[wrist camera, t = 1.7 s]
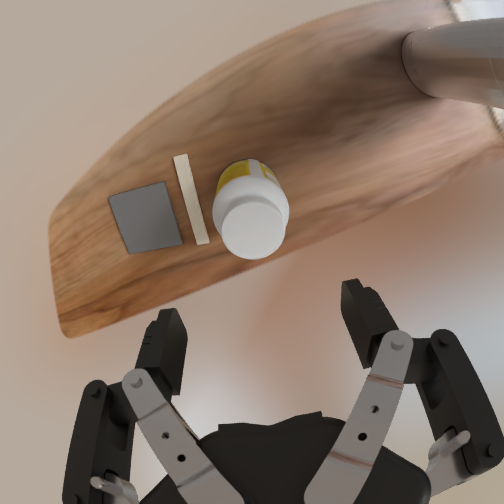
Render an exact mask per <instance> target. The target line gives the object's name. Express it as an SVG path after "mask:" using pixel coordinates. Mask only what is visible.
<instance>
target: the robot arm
mask: <svg viewBox="0 0 504 504" xmlns="http://www.w3.org/2000/svg"><path fill="white" fill-rule="evenodd" d="M402 60H403V64H404V67H405V69H406V72H407V74H408V76H409V77H410V79H411V81H412V82H413V83H414V84H415V86H416V87H417V88H419V89H420V90H421V91H422V92H424V93H425V94H427V95H429V96H432V97H439V98H447V99H454V100H460V101H466V102H472V103H478V104H483V105H488V106H492V107H497V108H501V109H504V18H490V19H479V20H471V21H464V22H457V23H451V24H446V25H441V26H436V27H431V28H427V29H422V30H419V31H415V32H412V33H410V34H409V35H407V37H406V38H405V39H404V42H403V45H402ZM341 312H342V316H343V319H344V321H345V324H346V326H347V328H348V331H349V333H350V335H351V338H352V341H353V343H354V346H355V348H356V351H357V353H358V356H359V359H360V361H361V364H362V366H363V369H365V368H369V367H371V371H370V373H369V375H368V377H367V378H366V381H365V383H364V385H363V388H362V390H361V392H360V394H359V397H358V399H357V401H356V403H355V405H354V407H353V410H352V412H351V414H350V416H349V418H348V420H347V422H345V421H343V420H340V419H336V418H331V417H322V413H321V411H319V412H314V413H309V414H303V415H298V416H294V417H292V418H289V419H287V420H284V421H282V422H279V423H276V424H274V425H269V426H266V425H257V424H249V423H234V424H219V425H218V431H215V432H213V433H210V434H208V435H206V436H205V437H203V438H202V439H199V437H198V436H197V435H196V434H195V433H194V432H193V431H192V430H191V428H190V427H189V426H188V424H187V423H186V422H185V420H184V419H183V418H182V416H181V415H180V414H179V412H178V411H177V409H176V408H175V407H174V405H173V404H172V403H171V397H172V395H180V389H181V382H182V375H183V368H184V360H185V354H186V348H187V340H188V337H187V332H186V328H185V326H184V324H183V322H182V320H181V318H180V315H179V314H178V311H177V310H176V309H175V308H171V309H163V310H160V311H159V315H158V318H157V320H156V321H152V322H151V323H150V325H149V326H148V327H147V329H146V332H145V335H144V339H143V342H142V345H141V348H140V352H139V355H138V359H137V362H136V366H135V369H133V370H131V371H130V372H128V373H127V374H126V375H125V376H124V378H123V380H122V382H118V383H115V384H111V385H108V386H107V385H106V384H105V383H104V382H103V381H102V380H94V381H92V382H90V383H89V384H88V385H87V386H86V387H85V389H84V392H83V395H82V399H81V402H80V406H79V410H78V413H77V417H76V421H75V425H74V430H73V434H72V439H71V444H70V448H69V453H68V459H67V464H66V471H65V478H64V484H63V493H62V501H63V504H429V500H430V497H432V496H434V495H437V494H439V493H441V492H443V491H444V490H447V489H449V488H451V487H453V486H455V485H459V484H462V483H464V482H466V481H468V480H470V479H472V478H474V477H476V476H478V475H480V474H482V473H484V472H486V471H488V470H490V469H492V468H493V467H495V466H497V465H498V464H499V463H500V462H501V460H502V459H503V457H504V436H503V434H502V431H501V428H500V425H499V423H498V420H497V418H496V415H495V413H494V410H493V408H492V406H491V403H490V401H489V399H488V397H487V394H486V392H485V390H484V388H483V386H482V384H481V382H480V379H479V377H478V375H477V373H476V372H475V370H474V368H473V366H472V364H471V362H470V360H469V358H468V356H467V354H466V353H465V351H464V349H463V348H462V346H461V344H460V342H459V340H458V339H457V337H456V335H454V333H453V332H451V331H449V330H446V329H439V330H436V331H435V332H433V334H432V335H431V338H411V336H410V335H409V334H408V333H406V332H404V331H401V330H399V328H398V327H397V325H396V323H395V321H394V320H393V318H392V316H391V315H390V313H389V311H388V309H387V308H386V307H385V305H384V303H383V302H382V299H381V298H380V296H379V295H378V293H377V292H376V291H375V290H373V289H372V288H371V287H365V288H363V286H362V284H361V283H360V281H359V280H358V279H357V278H356V279H351V280H347V281H343V282H342V290H341ZM413 383H415V384H416V387H417V389H418V392H419V395H420V397H421V400H422V403H423V406H424V408H425V411H426V414H427V417H428V420H429V423H430V426H431V429H432V432H433V436H434V439H435V443H433V445H432V446H431V448H430V450H429V454H428V457H429V464H428V467H427V469H426V471H425V472H424V471H423V470H422V469H421V468H419V467H418V466H416V465H414V464H413V463H410V462H409V461H407V460H406V459H404V458H402V457H401V456H399V455H397V454H395V453H394V452H392V451H391V450H389V449H388V448H386V447H384V446H383V445H382V444H383V442H384V439H385V437H386V434H387V432H388V429H389V427H390V424H391V422H392V419H393V417H394V414H395V411H396V408H397V405H398V403H399V399H400V396H401V394H402V390H403V386H404V385H403V384H413ZM135 422H137V424H138V426H139V428H140V429H141V431H142V433H143V435H144V436H145V438H146V440H147V441H148V443H149V445H150V446H151V448H152V450H153V451H154V453H155V454H156V456H157V458H158V459H159V461H160V462H161V464H162V465H163V467H164V468H165V470H166V471H167V473H168V474H167V475H166V476H165V477H164V478H163V479H162V480H161V481H160V482H159V484H157V485H156V486H155V487H154V489H152V491H150V492H149V493H148V494H147V495H146V496H145V497H144V498H143V499H142V500H141V501H140V503H139V501H138V495H137V493H136V489H135V487H134V486H133V485H132V484H131V483H130V482H129V481H130V467H131V455H132V446H133V437H134V429H135Z"/></svg>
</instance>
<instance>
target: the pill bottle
mask: <svg viewBox="0 0 504 504" xmlns="http://www.w3.org/2000/svg"><path fill="white" fill-rule="evenodd" d="M212 216H213V221H214V225H215V227H216V229H217V231H218V232H219V234H220V235H221V236H222V240H223V242H224V244H225V246H226V247H227V248H228V249H229V251H231V252H232V253H233V254H235V255H236V256H239V257H241V258H245V259H260V258H264V257H266V256H268V255H270V254H272V253H273V252H274V251H276V250H277V249H278V248H279V246H280V245H281V243H282V241H283V239H284V235H285V227H286V225H287V223H288V219H289V205H288V201H287V198H286V196H285V194H284V192H283V190H282V188H281V186H280V184H279V182H278V180H277V178H276V176H275V175H274V173H273V171H272V170H271V169H270V168H269V167H268V166H267V165H266V164H264V163H262V162H260V161H258V160H254V159H242V160H238V161H235V162H233V163H232V164H230V165H229V166H228V167H227V168H226V169H225V170H224V171H223V172H222V174H221V176H220V178H219V182H218V186H217V190H216V194H215V199H214V203H213V209H212Z"/></svg>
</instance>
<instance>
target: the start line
mask: <svg viewBox="0 0 504 504" xmlns="http://www.w3.org/2000/svg"><path fill="white" fill-rule="evenodd" d="M173 158H174V162H175V166H176V170H177V174H178V178H179V182H180V185H181V189H182V193H183V196H184V200H185V204H186V207H187V211H188V215H189V218H190V222H191V225H192V229H193V232H194V235H195V239H196V242H197V245H201V244H207V243H209V242H210V241H209V237H208V234H207V230H206V226H205V223H204V219H203V215H202V211H201V207H200V203H199V199H198V196H197V192H196V188H195V184H194V180H193V175H192V171H191V167H190V163H189V159H188V155H187V153H186V154H182V155H178V156H174V157H173Z"/></svg>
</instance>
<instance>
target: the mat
mask: <svg viewBox="0 0 504 504" xmlns="http://www.w3.org/2000/svg"><path fill="white" fill-rule="evenodd" d="M108 199H109V202H110V204H111V207H112V210H113V213H114V216H115V218H116V221H117V224H118V226H119V229H120V232H121V234H122V237H123V239H124V242H125V244H126V247H127V249H128V252H129V254H134V253H140V252H145V251H150V250H155V249H161V248H166V247H171V246H177V245H182V244H183V240H182V237H181V234H180V231H179V227H178V224H177V221H176V217H175V214H174V211H173V207H172V204H171V201H170V197H169V194H168V190H167V187H166V183H165V181H163V182H159V183H155V184H152V185H148V186H144V187H140V188H137V189H133V190H130V191H126V192H123V193H119V194H116V195H113V196H110V197H108Z"/></svg>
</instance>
